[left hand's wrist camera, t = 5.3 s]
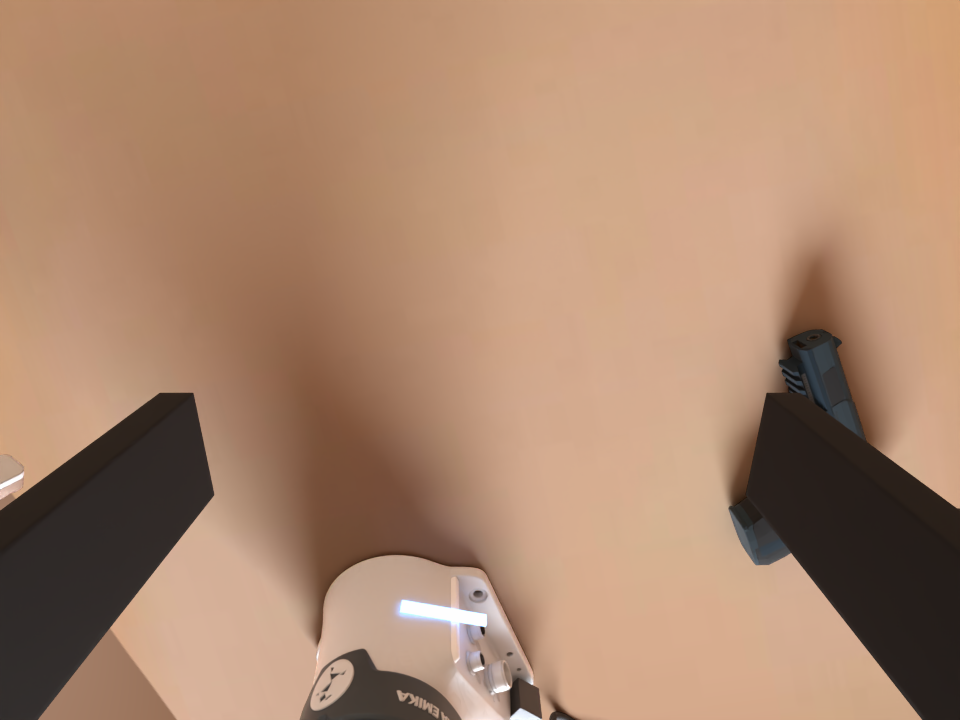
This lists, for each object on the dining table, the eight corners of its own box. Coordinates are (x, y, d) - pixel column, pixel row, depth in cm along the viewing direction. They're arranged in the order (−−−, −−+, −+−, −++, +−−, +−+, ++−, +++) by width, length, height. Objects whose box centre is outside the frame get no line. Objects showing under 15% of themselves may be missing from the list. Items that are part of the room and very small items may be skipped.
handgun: (673, 388, 43) (823, 321, 41) (743, 549, 48) (879, 496, 46) (687, 405, 40) (850, 333, 38) (760, 575, 45) (906, 519, 43)
